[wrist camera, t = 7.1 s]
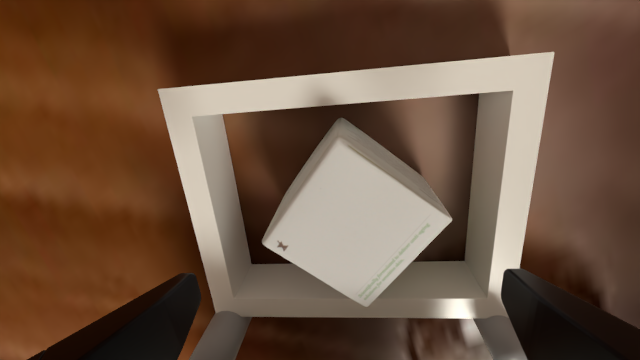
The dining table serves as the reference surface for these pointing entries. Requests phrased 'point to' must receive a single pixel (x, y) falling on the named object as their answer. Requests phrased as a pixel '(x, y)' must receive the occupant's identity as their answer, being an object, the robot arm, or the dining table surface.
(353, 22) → the dining table surface
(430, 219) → the small box
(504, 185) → the frame
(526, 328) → the robot arm
